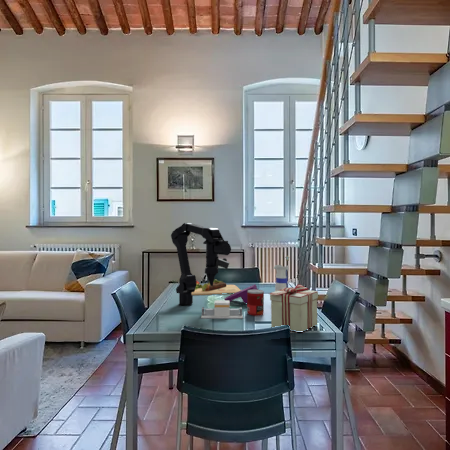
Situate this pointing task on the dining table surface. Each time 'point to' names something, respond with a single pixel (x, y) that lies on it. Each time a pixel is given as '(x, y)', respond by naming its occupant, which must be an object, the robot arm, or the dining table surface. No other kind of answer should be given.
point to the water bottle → (281, 276)
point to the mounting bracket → (241, 294)
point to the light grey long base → (210, 314)
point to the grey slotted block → (222, 308)
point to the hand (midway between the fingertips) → (211, 285)
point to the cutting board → (214, 288)
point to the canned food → (255, 302)
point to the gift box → (294, 308)
